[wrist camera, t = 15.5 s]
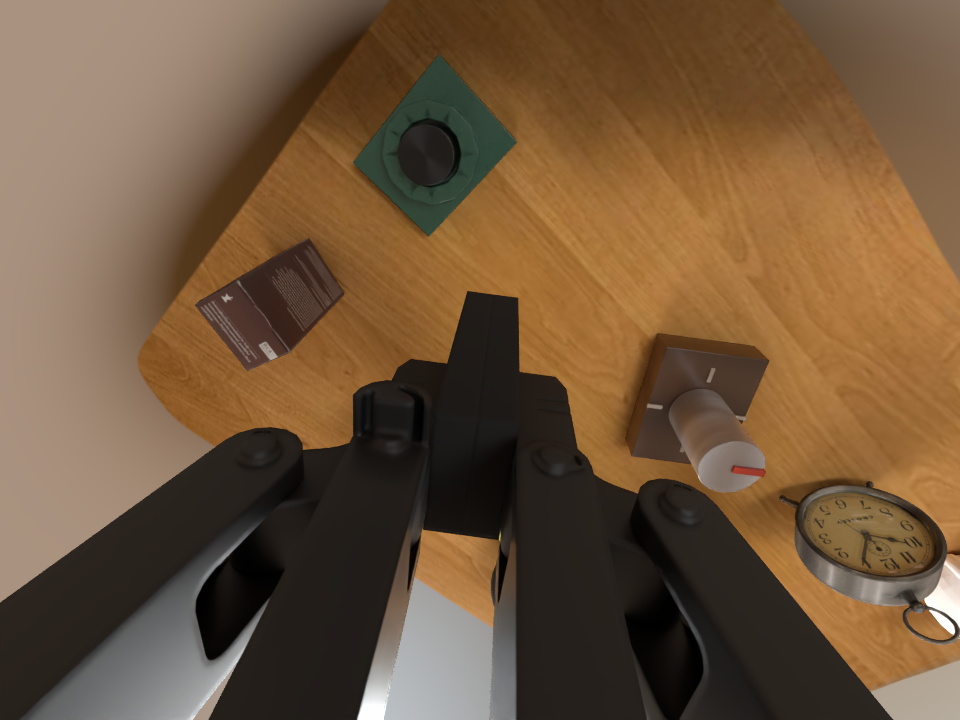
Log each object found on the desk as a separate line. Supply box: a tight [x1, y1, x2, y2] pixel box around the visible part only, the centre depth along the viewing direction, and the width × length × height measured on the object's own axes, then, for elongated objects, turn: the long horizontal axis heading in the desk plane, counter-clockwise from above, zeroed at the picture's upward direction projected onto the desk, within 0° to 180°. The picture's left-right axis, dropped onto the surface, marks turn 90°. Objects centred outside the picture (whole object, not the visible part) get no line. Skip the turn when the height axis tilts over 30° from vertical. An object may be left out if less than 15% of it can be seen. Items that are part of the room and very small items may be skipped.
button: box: [398, 124, 457, 186], centre depth 34 cm, size 4×4×2 cm
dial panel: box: [625, 334, 769, 464], centre depth 46 cm, size 12×9×3 cm
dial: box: [669, 389, 766, 492], centre depth 41 cm, size 5×5×8 cm
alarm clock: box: [779, 481, 960, 645], centre depth 44 cm, size 11×5×16 cm, turn 106°
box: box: [195, 239, 344, 371], centre depth 39 cm, size 6×4×12 cm
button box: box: [353, 55, 517, 236], centre depth 37 cm, size 10×8×4 cm
